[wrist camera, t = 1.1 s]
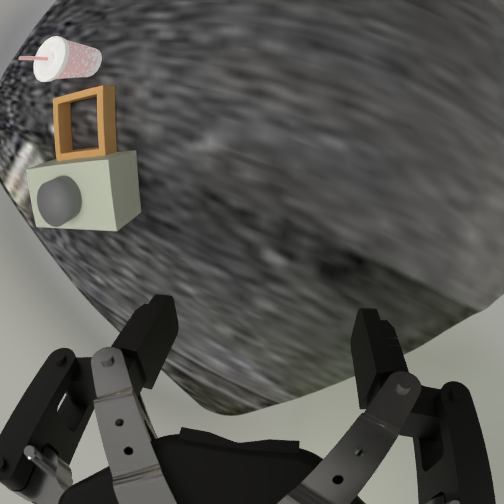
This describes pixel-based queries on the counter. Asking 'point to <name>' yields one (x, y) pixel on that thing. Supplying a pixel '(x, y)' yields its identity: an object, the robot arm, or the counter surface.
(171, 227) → the counter surface
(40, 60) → the beverage cup
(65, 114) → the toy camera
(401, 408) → the robot arm
